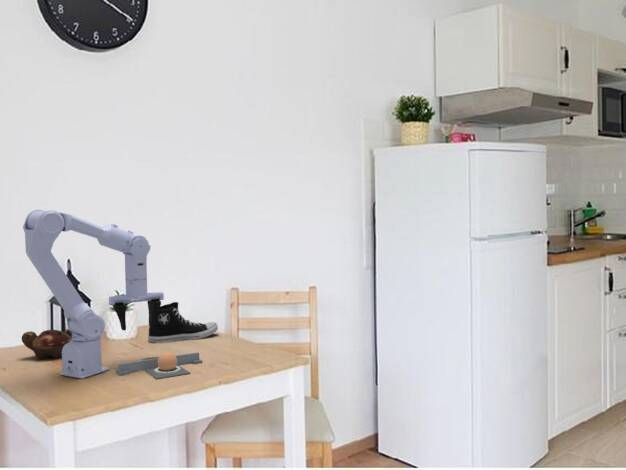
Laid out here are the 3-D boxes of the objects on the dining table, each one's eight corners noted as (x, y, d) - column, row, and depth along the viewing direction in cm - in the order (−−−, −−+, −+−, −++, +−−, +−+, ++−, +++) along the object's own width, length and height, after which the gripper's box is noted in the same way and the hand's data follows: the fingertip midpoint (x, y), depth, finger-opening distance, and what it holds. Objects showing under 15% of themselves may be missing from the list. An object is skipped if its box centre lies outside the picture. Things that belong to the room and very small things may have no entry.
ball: (168, 375, 168) (168, 355, 167) (153, 372, 170) (153, 353, 169) (181, 370, 172) (181, 351, 172) (166, 367, 174) (166, 349, 174)
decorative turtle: (20, 356, 189) (21, 328, 190) (76, 353, 196) (77, 326, 196) (21, 362, 181) (22, 333, 181) (79, 359, 187) (80, 331, 187)
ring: (153, 366, 177) (153, 364, 177) (135, 363, 180) (135, 361, 180) (169, 361, 182) (169, 358, 182) (151, 358, 185) (151, 356, 185)
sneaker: (220, 338, 210) (219, 301, 210) (149, 344, 203) (148, 305, 203) (215, 333, 218) (215, 297, 218) (146, 338, 211) (145, 301, 211)
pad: (156, 379, 165) (156, 375, 165) (145, 371, 172) (145, 367, 172) (190, 373, 169) (190, 370, 169) (178, 366, 177) (178, 362, 177)
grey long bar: (196, 359, 184) (196, 350, 183) (202, 362, 180) (202, 353, 180) (115, 372, 172) (115, 362, 172) (119, 375, 168) (119, 365, 168)
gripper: (113, 282, 173) (114, 333, 174) (166, 278, 181) (168, 327, 182) (106, 279, 179) (108, 329, 180) (158, 275, 187) (159, 323, 188)
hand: (137, 328), depth 181 cm, fingers open, 7 cm apart
